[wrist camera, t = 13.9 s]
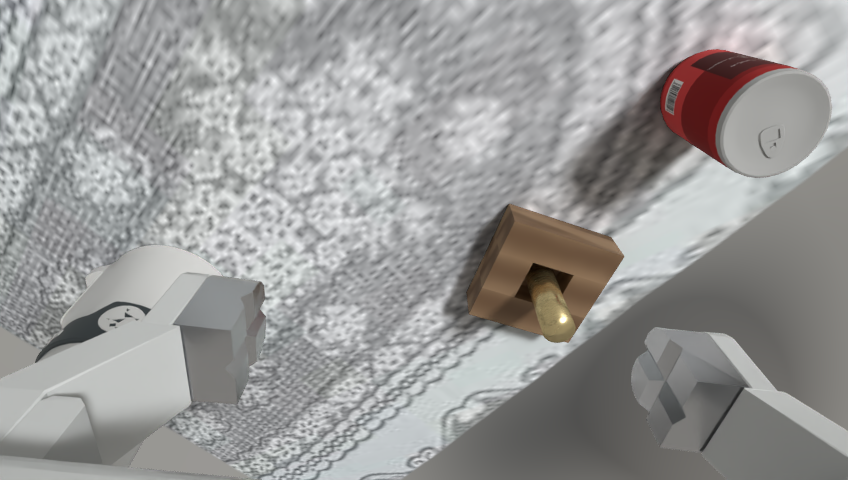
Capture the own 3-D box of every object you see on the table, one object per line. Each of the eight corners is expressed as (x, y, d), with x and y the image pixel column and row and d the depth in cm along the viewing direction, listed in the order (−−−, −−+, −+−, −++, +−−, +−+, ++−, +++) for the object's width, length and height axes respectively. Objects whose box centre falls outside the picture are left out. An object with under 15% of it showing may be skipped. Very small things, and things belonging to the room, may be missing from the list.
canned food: (678, 151, 46) (742, 197, 37) (641, 84, 43) (702, 116, 34) (756, 102, 44) (847, 138, 34) (724, 28, 41) (814, 45, 31)
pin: (542, 285, 53) (564, 346, 44) (518, 276, 52) (536, 336, 44) (556, 264, 52) (581, 323, 43) (532, 255, 51) (553, 312, 42)
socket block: (559, 320, 57) (568, 342, 53) (466, 292, 55) (468, 314, 51) (611, 237, 51) (624, 256, 48) (509, 203, 49) (515, 221, 46)
